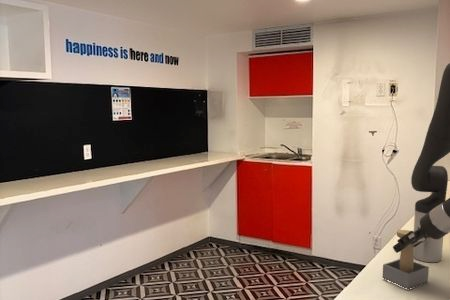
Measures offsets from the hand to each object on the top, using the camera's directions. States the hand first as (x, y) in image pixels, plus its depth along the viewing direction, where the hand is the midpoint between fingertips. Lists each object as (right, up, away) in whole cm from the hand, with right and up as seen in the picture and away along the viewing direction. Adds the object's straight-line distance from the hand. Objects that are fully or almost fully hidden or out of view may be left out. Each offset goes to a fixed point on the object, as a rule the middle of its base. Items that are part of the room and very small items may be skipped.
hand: (403, 247), depth 132 cm
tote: (+1, -11, +1) cm, 11 cm away
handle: (+1, -10, 0) cm, 10 cm away
